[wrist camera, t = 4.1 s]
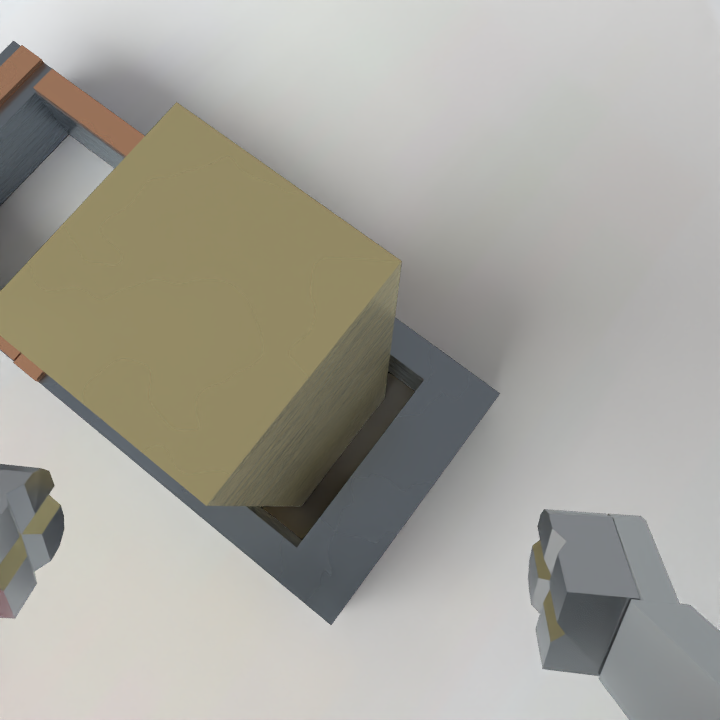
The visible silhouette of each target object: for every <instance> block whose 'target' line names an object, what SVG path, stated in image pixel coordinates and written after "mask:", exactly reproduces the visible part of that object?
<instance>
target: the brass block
mask: <svg viewBox="0 0 720 720" xmlns="http://www.w3.org/2000/svg"><path fill="white" fill-rule="evenodd" d="M401 264H402V261H401V260H399V259H398V258H396V257H395V256H394V255H392V254H391V253H389V252H388V251H387V250H385V249H384V248H382V247H381V246H379V245H378V244H377V243H375V242H374V241H372V240H371V239H370V238H368V237H367V236H365V235H364V234H362V233H361V232H360V231H358V230H357V229H355V228H354V227H353V226H351V225H350V224H348V223H347V222H345V221H344V220H343V219H341V218H340V217H338V216H337V215H336V214H334V213H333V212H331V211H330V210H328V209H327V208H326V207H324V206H323V205H321V204H320V203H319V202H317V201H316V200H314V199H313V198H311V197H310V196H309V195H307V194H306V193H304V192H303V191H302V190H300V189H299V188H297V187H296V186H295V185H293V184H292V183H290V182H289V181H287V180H286V179H285V178H283V177H282V176H280V175H279V174H278V173H276V172H275V171H273V170H272V169H270V168H269V167H268V166H266V165H265V164H263V163H262V162H261V161H259V160H258V159H256V158H255V157H253V156H252V155H251V154H249V153H248V152H246V151H245V150H244V149H242V148H241V147H239V146H238V145H236V144H235V143H234V142H232V141H231V140H229V139H228V138H227V137H225V136H224V135H222V134H221V133H219V132H218V131H217V130H215V129H214V128H212V127H211V126H210V125H208V124H207V123H205V122H204V121H202V120H201V119H200V118H198V117H197V116H195V115H194V114H193V113H191V112H190V111H188V110H187V109H185V108H184V107H183V106H181V105H180V104H178V103H177V102H176V103H175V104H174V106H173V107H172V108H171V109H170V110H169V111H168V112H167V113H166V114H165V115H164V116H163V117H162V118H161V120H160V121H159V122H158V123H157V124H156V125H155V126H154V127H153V128H152V129H151V130H150V131H149V132H148V133H147V135H146V136H145V137H144V138H143V139H142V140H141V141H140V142H139V143H138V144H137V145H136V146H135V147H134V148H133V150H132V151H131V152H130V153H129V154H128V155H127V156H126V157H125V158H124V159H123V160H122V161H121V162H120V163H119V165H118V166H117V167H116V168H115V169H114V170H113V171H112V172H111V173H110V174H109V175H108V176H107V177H106V178H105V180H104V181H103V182H102V183H101V184H100V185H99V186H98V187H97V188H96V189H95V190H94V191H93V192H92V193H91V195H90V196H89V197H88V198H87V199H86V200H85V201H84V202H83V203H82V204H81V205H80V206H79V207H78V208H77V210H76V211H75V212H74V213H73V214H72V215H71V216H70V217H69V218H68V219H67V220H66V221H65V222H64V223H63V225H62V226H61V227H60V228H59V229H58V230H57V231H56V232H55V233H54V234H53V235H52V236H51V237H50V238H49V240H48V241H47V242H46V243H45V244H44V245H43V246H42V247H41V248H40V249H39V250H38V251H37V252H36V254H35V255H34V256H33V257H32V258H31V259H30V260H29V261H28V262H27V263H26V264H25V265H24V266H23V267H22V269H21V270H20V271H19V272H18V273H17V274H16V275H15V276H14V277H13V278H12V279H11V280H10V281H9V282H8V284H7V285H6V286H5V287H4V288H3V289H2V290H1V291H0V336H1V337H3V338H4V339H5V340H6V341H7V342H9V343H10V344H11V345H12V346H14V347H15V348H16V349H17V350H18V351H20V352H21V353H22V354H23V355H24V356H26V357H27V358H28V359H29V360H30V361H32V362H33V363H34V364H35V365H37V366H38V367H39V368H40V369H41V370H43V371H44V372H45V373H46V374H47V375H49V376H50V377H51V378H52V379H53V380H55V381H56V382H57V383H58V384H59V385H61V386H62V387H63V388H64V389H66V390H67V391H68V392H69V393H70V394H72V395H73V396H74V397H75V398H76V399H78V400H79V401H80V402H81V403H82V404H84V405H85V406H86V407H87V408H88V409H90V410H91V411H92V412H93V413H95V414H96V415H97V416H98V417H99V418H101V419H102V420H103V421H104V422H105V423H107V424H108V425H109V426H110V427H111V428H113V429H114V430H115V431H116V432H118V433H119V434H120V435H121V436H122V437H124V438H125V439H126V440H127V441H128V442H130V443H131V444H132V445H133V446H134V447H136V448H137V449H138V450H139V451H140V452H142V453H143V454H144V455H145V456H147V457H148V458H149V459H150V460H151V461H153V462H154V463H155V464H156V465H157V466H159V467H160V468H161V469H162V470H163V471H165V472H166V473H167V474H168V475H169V476H171V477H172V478H173V479H174V480H176V481H177V482H178V483H179V484H180V485H182V486H183V487H184V488H185V489H186V490H188V491H189V492H190V493H191V494H192V495H194V496H195V497H196V498H197V499H199V500H200V501H201V502H202V503H203V504H205V505H206V506H302V505H303V504H304V503H305V501H306V500H307V499H308V497H309V496H310V495H311V493H312V492H313V491H314V490H315V488H316V487H317V486H318V484H319V483H320V482H321V480H322V479H323V478H324V477H325V475H326V474H327V473H328V471H329V470H330V469H331V467H332V466H333V465H334V463H335V462H336V461H337V460H338V458H339V457H340V456H341V454H342V453H343V452H344V450H345V449H346V448H347V447H348V445H349V444H350V443H351V441H352V440H353V439H354V437H355V436H356V435H357V434H358V432H359V431H360V430H361V428H362V427H363V426H364V424H365V423H366V422H367V421H368V419H369V418H370V417H371V415H372V414H373V413H374V411H375V410H376V409H377V407H378V406H379V405H380V404H381V402H382V401H383V400H384V398H385V391H386V383H387V375H388V367H389V359H390V351H391V343H392V335H393V327H394V319H395V311H396V303H397V295H398V288H399V280H400V272H401Z"/></svg>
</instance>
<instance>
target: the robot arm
mask: <svg viewBox="0 0 720 720" xmlns="http://www.w3.org/2000/svg"><path fill="white" fill-rule="evenodd" d="M53 487H54V483H53V480H52V477H51V475H50V472H49V471H47V470H45V469H42V468H33V467H24V466H15V465H6V464H0V618H16V616H17V615H18V613H19V611H20V610H21V608H22V607H23V605H24V603H25V602H26V600H27V599H28V597H29V595H30V594H31V592H32V591H33V589H34V587H35V586H36V584H37V581H36V576H35V571H36V570H38V569H39V568H41V567H42V566H44V565H45V564H47V563H48V562H50V561H51V560H52V558H53V556H54V555H55V553H56V551H57V550H58V548H59V546H60V542H61V539H62V535H63V531H64V515H63V511H62V508H61V505H60V504H59V503H58V502H56V501H55V500H54V499H53V498H52V497H51V496H50V495H49V493H50V492H51V490H52V489H53ZM538 531H539V536H540V540H539V541H538V542H537V543H535V544H534V545H533V546H532V550H531V555H530V559H529V573H528V581H529V592H530V599H531V605H532V606H533V607H534V608H535V609H536V610H537V611H538V612H539V613H540V615H539V619H538V623H537V626H536V635H537V641H538V646H539V652H540V657H541V663H542V669H546V670H555V671H563V672H571V673H579V674H587V675H595V676H599V680H600V681H601V683H602V684H603V685H604V687H605V688H606V689H607V691H608V692H609V693H610V695H611V696H612V697H613V699H614V700H615V701H616V703H617V704H618V705H619V707H620V708H621V709H622V711H623V712H624V713H625V715H626V716H627V717H628V718H629V720H720V631H719V630H718V629H717V628H716V627H714V626H713V625H712V624H711V623H710V622H709V621H708V620H707V619H705V618H704V617H703V616H702V615H701V614H700V613H699V612H697V611H696V610H695V609H694V608H693V607H692V606H691V605H687V604H680V603H679V601H678V598H677V596H676V593H675V591H674V589H673V586H672V584H671V581H670V579H669V576H668V574H667V571H666V569H665V566H664V564H663V562H662V559H661V557H660V554H659V552H658V549H657V547H656V544H655V542H654V539H653V537H652V534H651V532H650V530H649V527H648V525H647V522H646V521H645V520H644V519H643V518H642V517H641V516H633V515H619V514H603V513H590V512H576V511H562V510H548V509H544V510H543V512H542V514H541V515H540V519H539V523H538Z"/></svg>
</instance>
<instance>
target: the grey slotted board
mask: <svg viewBox="0 0 720 720" xmlns="http://www.w3.org/2000/svg"><path fill="white" fill-rule="evenodd" d="M68 134H69V135H71V136H72V137H73V138H75V139H76V140H77V141H79V142H80V143H82V144H83V145H84V146H86V147H87V148H88V149H90V150H91V151H92V152H94V153H95V154H96V155H98V156H99V157H100V158H102V159H103V160H104V161H106V162H107V163H108V164H110V165H111V166H112V167H114V168H116V167H117V166H118V165H119V163H120V162H121V161H122V160H123V159H124V158H125V157H126V156H127V155H128V154H129V153H130V152H131V151H132V150H133V148H134V147H135V146H136V145H137V144H138V143H139V142H140V141H141V140H142V139H143V138H144V137H145V136H144V135H143V134H142V133H140V132H139V131H137V130H136V129H135V128H133V127H132V126H130V125H129V124H128V123H126V122H125V121H124V120H122V119H121V118H119V117H118V116H117V115H115V114H114V113H113V112H111V111H110V110H108V109H107V108H106V107H104V106H103V105H101V104H100V103H99V102H97V101H96V100H95V99H93V98H92V97H90V96H89V95H88V94H86V93H85V92H84V91H82V90H81V89H79V88H78V87H77V86H75V85H74V84H73V83H71V82H70V81H68V80H67V79H66V78H64V77H63V76H61V75H60V74H59V73H57V72H56V71H55V70H53V69H52V68H50V67H49V66H48V65H46V64H45V63H44V62H43V61H42V59H41V58H39V57H38V56H36V55H35V54H34V53H32V52H31V51H29V50H28V49H27V48H25V47H24V46H23V45H21V46H20V45H19V44H17V43H16V42H14V41H13V42H12V43H11V44H10V45H9V46H8V47H7V48H6V49H5V50H4V51H3V52H2V53H1V54H0V205H1V204H2V203H3V202H4V201H5V200H6V199H7V198H8V197H9V196H10V195H11V194H12V193H13V192H14V190H15V189H16V188H17V187H18V186H19V185H20V184H21V183H22V182H23V181H24V180H25V179H26V178H27V177H28V176H29V175H30V174H31V173H32V172H33V171H34V170H35V169H36V168H37V167H38V166H39V164H40V163H41V162H42V161H43V160H44V159H45V158H46V157H47V156H48V155H49V154H50V153H51V152H52V151H53V150H54V149H55V148H56V147H57V146H58V145H59V144H60V143H61V142H62V141H63V140H64V138H65V137H66V136H67V135H68ZM0 350H1V351H2V352H3V353H4V354H6V355H7V356H8V357H9V358H10V359H12V360H13V361H14V362H13V363H15V364H16V365H17V366H18V367H19V368H21V369H22V370H23V371H24V372H25V373H27V374H28V375H29V376H30V377H31V378H33V379H34V380H35V381H38V382H39V383H41V384H42V385H43V386H44V387H45V388H47V389H48V390H49V391H50V392H51V393H53V394H54V395H55V396H56V397H57V398H59V399H60V400H61V401H62V402H63V403H65V404H66V405H67V406H68V407H69V408H71V409H72V410H73V411H74V412H75V413H77V414H78V415H79V416H80V417H81V418H83V419H84V420H85V421H86V422H87V423H89V424H90V425H91V426H92V427H93V428H95V429H96V430H97V431H98V432H99V433H101V434H102V435H103V436H104V437H105V438H107V439H108V440H109V441H110V442H111V443H113V444H114V445H115V446H116V447H117V448H119V449H120V450H121V451H122V452H123V453H125V454H126V455H127V456H128V457H129V458H131V459H132V460H133V461H134V462H135V463H137V464H138V465H139V466H140V467H141V468H143V469H144V470H145V471H146V472H147V473H149V474H150V475H151V476H152V477H154V478H155V479H156V480H157V481H158V482H160V483H161V484H162V485H163V486H164V487H166V488H167V489H168V490H169V491H170V492H172V493H173V494H174V495H175V496H176V497H178V498H179V499H180V500H181V501H182V502H184V503H185V504H186V505H187V506H188V507H190V508H191V509H192V510H193V511H194V512H196V513H197V514H198V515H199V516H200V517H202V518H203V519H204V520H205V521H206V522H208V523H209V524H210V525H211V526H212V527H214V528H215V529H216V530H217V531H218V532H220V533H221V534H222V535H223V536H224V537H226V538H227V539H228V540H229V541H230V542H232V543H233V544H234V545H235V546H236V547H238V548H239V549H240V550H241V551H242V552H244V553H245V554H246V555H247V556H248V557H250V558H251V559H252V560H253V561H254V562H256V563H257V564H258V565H259V566H261V567H262V568H263V569H264V570H265V571H267V572H268V573H269V574H270V575H271V576H273V577H274V578H275V579H276V580H277V581H279V582H280V583H281V584H282V585H283V586H285V587H286V588H287V589H288V590H289V591H291V592H292V593H293V594H294V595H295V596H297V597H298V598H299V599H300V600H301V601H303V602H304V603H305V604H306V605H307V606H309V607H310V608H311V609H312V610H313V611H315V612H316V613H317V614H318V615H319V616H321V617H322V618H323V619H324V620H325V621H327V622H328V623H329V624H330V625H332V623H333V622H334V621H335V619H336V618H337V616H338V615H339V614H340V612H341V611H342V610H343V608H344V607H345V605H346V604H347V603H348V601H349V600H350V599H351V597H352V596H353V594H354V593H355V592H356V590H357V589H358V588H359V586H360V585H361V583H362V582H363V581H364V579H365V578H366V577H367V575H368V574H369V573H370V571H371V570H372V568H373V567H374V566H375V564H376V563H377V562H378V560H379V559H380V557H381V556H382V555H383V553H384V552H385V551H386V549H387V548H388V546H389V545H390V544H391V542H392V541H393V540H394V538H395V537H396V536H397V534H398V533H399V531H400V530H401V529H402V527H403V526H404V525H405V523H406V522H407V520H408V519H409V518H410V516H411V515H412V514H413V512H414V511H415V509H416V508H417V507H418V505H419V504H420V503H421V501H422V500H423V499H424V497H425V496H426V494H427V493H428V492H429V490H430V489H431V488H432V486H433V485H434V483H435V482H436V481H437V479H438V478H439V477H440V475H441V474H442V472H443V471H444V470H445V468H446V467H447V466H448V464H449V463H450V462H451V460H452V459H453V457H454V456H455V455H456V453H457V452H458V451H459V449H460V448H461V446H462V445H463V444H464V442H465V441H466V440H467V438H468V437H469V435H470V434H471V433H472V431H473V430H474V429H475V427H476V426H477V425H478V423H479V422H480V420H481V419H482V418H483V416H484V415H485V414H486V412H487V411H488V409H489V408H490V407H491V405H492V404H493V403H494V401H495V400H496V398H497V397H498V396H499V394H500V393H499V392H497V391H496V390H495V389H493V388H492V387H490V386H489V385H488V384H486V383H485V382H484V381H482V380H481V379H479V378H478V377H477V376H475V375H474V374H472V373H471V372H470V371H468V370H467V369H466V368H464V367H463V366H461V365H460V364H459V363H457V362H456V361H455V360H453V359H452V358H450V357H449V356H448V355H446V354H445V353H444V352H442V351H441V350H439V349H438V348H437V347H435V346H434V345H432V344H431V343H430V342H428V341H427V340H426V339H424V338H423V337H421V336H420V335H419V334H417V333H416V332H415V331H413V330H412V329H410V328H409V327H408V326H406V325H405V324H404V323H402V322H401V321H399V320H398V319H397V318H395V319H394V327H393V335H392V343H391V351H390V359H389V367H388V371H389V372H390V373H391V374H393V375H394V376H395V377H397V378H398V379H399V380H401V381H402V382H404V383H405V384H406V385H408V386H409V387H410V388H412V389H413V390H414V391H415V393H414V394H413V395H412V397H411V398H410V399H409V401H408V402H407V403H406V404H405V406H404V407H403V408H402V410H401V411H400V412H399V414H398V415H397V416H396V418H395V419H394V420H393V422H392V423H391V424H390V426H389V427H388V428H387V430H386V431H385V432H384V433H383V435H382V436H381V437H380V439H379V440H378V441H377V443H376V444H375V445H374V447H373V448H372V449H371V451H370V452H369V453H368V455H367V456H366V457H365V458H364V460H363V461H362V462H361V464H360V465H359V466H358V468H357V469H356V470H355V472H354V473H353V474H352V476H351V477H350V478H349V480H348V481H347V482H346V484H345V485H344V486H343V487H342V489H341V490H340V491H339V493H338V494H337V495H336V497H335V498H334V499H333V501H332V502H331V503H330V505H329V506H328V507H327V509H326V510H325V511H324V513H323V514H322V515H321V516H320V518H319V519H318V520H317V522H316V523H315V524H314V526H313V527H312V528H311V530H310V531H309V532H308V534H307V535H306V536H305V538H304V539H303V540H301V539H300V538H299V537H298V536H296V535H295V534H294V533H293V532H291V531H290V530H289V529H288V528H287V527H285V526H284V525H283V524H282V523H280V522H279V521H278V520H277V519H275V518H274V517H273V516H272V515H271V514H269V513H268V512H267V511H266V510H264V509H263V508H262V507H261V506H206V505H205V504H203V503H202V502H201V501H200V500H199V499H197V498H196V497H195V496H194V495H192V494H191V493H190V492H189V491H188V490H186V489H185V488H184V487H183V486H182V485H180V484H179V483H178V482H177V481H176V480H174V479H173V478H172V477H171V476H169V475H168V474H167V473H166V472H165V471H163V470H162V469H161V468H160V467H159V466H157V465H156V464H155V463H154V462H153V461H151V460H150V459H149V458H148V457H147V456H145V455H144V454H143V453H142V452H140V451H139V450H138V449H137V448H136V447H134V446H133V445H132V444H131V443H130V442H128V441H127V440H126V439H125V438H124V437H122V436H121V435H120V434H119V433H118V432H116V431H115V430H114V429H113V428H111V427H110V426H109V425H108V424H107V423H105V422H104V421H103V420H102V419H101V418H99V417H98V416H97V415H96V414H95V413H93V412H92V411H91V410H90V409H88V408H87V407H86V406H85V405H84V404H82V403H81V402H80V401H79V400H78V399H76V398H75V397H74V396H73V395H72V394H70V393H69V392H68V391H67V390H66V389H64V388H63V387H62V386H61V385H59V384H58V383H57V382H56V381H55V380H53V379H52V378H51V377H50V376H49V375H47V374H46V373H45V372H44V371H43V370H41V369H40V368H39V367H38V366H37V365H35V364H34V363H33V362H32V361H30V360H29V359H28V358H27V357H26V356H24V355H23V354H22V353H21V352H20V351H18V350H17V349H16V348H15V347H14V346H12V345H11V344H10V343H9V342H7V341H6V340H5V339H4V338H3V337H1V336H0Z"/></svg>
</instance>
